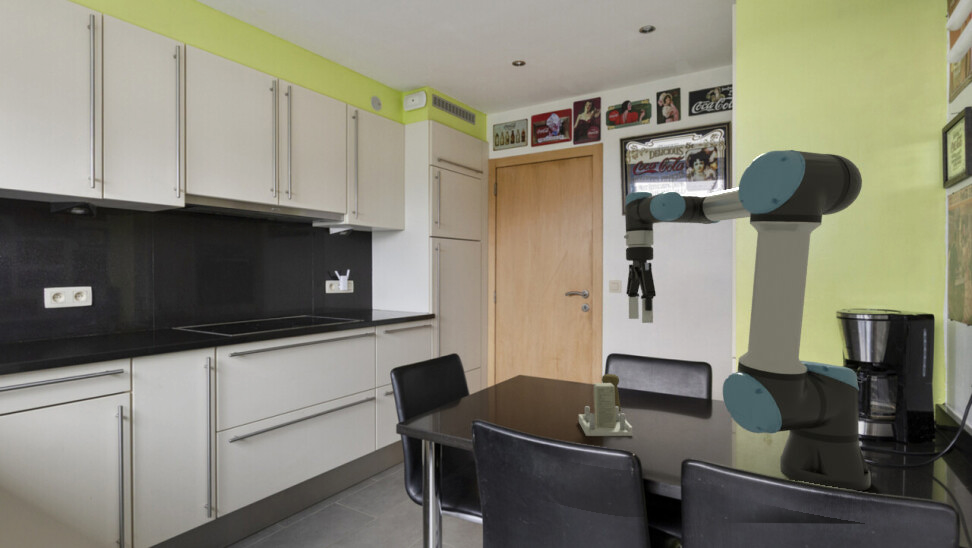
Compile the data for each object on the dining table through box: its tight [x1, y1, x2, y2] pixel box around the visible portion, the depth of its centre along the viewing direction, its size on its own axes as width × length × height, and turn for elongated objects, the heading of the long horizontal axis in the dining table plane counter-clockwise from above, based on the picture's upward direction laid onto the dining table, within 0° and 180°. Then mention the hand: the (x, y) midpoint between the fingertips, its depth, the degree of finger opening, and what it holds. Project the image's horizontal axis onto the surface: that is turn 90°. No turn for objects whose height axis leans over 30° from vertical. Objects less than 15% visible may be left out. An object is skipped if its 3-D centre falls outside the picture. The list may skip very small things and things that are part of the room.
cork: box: [601, 373, 622, 413], centre depth 149 cm, size 6×6×11 cm
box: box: [593, 382, 616, 427], centre depth 130 cm, size 5×4×11 cm
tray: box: [578, 405, 634, 437], centre depth 130 cm, size 12×12×5 cm
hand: (640, 320), depth 137 cm, fingers open, 13 cm apart
